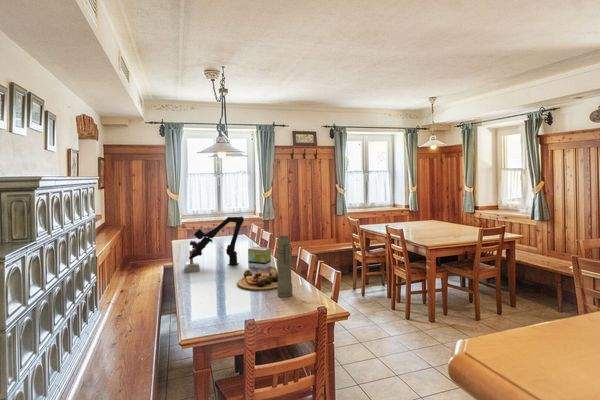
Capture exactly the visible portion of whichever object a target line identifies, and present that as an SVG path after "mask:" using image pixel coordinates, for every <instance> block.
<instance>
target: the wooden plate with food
mask: <svg viewBox="0 0 600 400" xmlns="http://www.w3.org/2000/svg"><path fill="white" fill-rule="evenodd" d="M277 284H278V271H277V270H275V269H274V268H271V269H270V271H269V272H268V273H263V272H262V271H258V272H255V273H254V274H253V272H252V270H250V269H245V270H244V272H243V277H241V278H239V279H238V280H237V281H236V286H237V288H239V289H241V290H244V289H245V291H251V292H264V291H266V290H267V291H272V290H277Z"/></svg>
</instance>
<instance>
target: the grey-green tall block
mask: <svg viewBox="0 0 600 400" xmlns="http://www.w3.org/2000/svg"><path fill="white" fill-rule="evenodd" d="M276 244H277V255H276V267H277V273H278V284H277V289H276V291H277V297H278V298H282V299H285V298H286V299H288V298H291V297H293V289H294V288H293V282H292V267H293V257H292V254H291V249H292V247H291V238H290V236H288V235H279V236H278V238H277V243H276Z"/></svg>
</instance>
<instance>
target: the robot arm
mask: <svg viewBox="0 0 600 400" xmlns="http://www.w3.org/2000/svg"><path fill="white" fill-rule="evenodd" d="M230 222H231V223H235V227H234V231H233V234H232V237H231V241H230V243H229V244H228V245H227V247H226V250H225V251H226V255H227V256H228V258H229V259H228V262H229V263H228V264H227V265H228V266H237V265H239V264H240V263H239V262H238V252H237V251H235V250H236V243H237V239H238V236H239V233H240V230H241V227H242V225H243V223H244V222H245V218H244V216H243V215H239V216H228V217H226V218H225V219H224V220H223V221H222V222H221V223H219V224H218V225H217V226H216V227H214V228H213V229H211V230H209V231H207V232H204V231H203V230H202V229H201V228H199V229H198V230H197V231H195V233H194V234H193V236H194V237H195V238H197V239H198V240H199V241H198V242H197V241H195V240H190V242H189V246H192V247H191V251H193V253H192V255H191V256H190V255H189V257H188V259H189V260H190V259H192V258H193V259H194V258H196V257H199V256H200V257H202V255H203V250H204V249H205V248H206V246H207V245H209V243H213V238H215V237H216V236H217V234H218V233H219V232H220V231H221V230H222V229H223V228H224V227H226V225H228V224H229V223H230Z"/></svg>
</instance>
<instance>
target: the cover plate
mask: <svg viewBox="0 0 600 400" xmlns="http://www.w3.org/2000/svg"><path fill="white" fill-rule="evenodd" d="M192 253H193V251H192V250H189V257H190V256H191V255H192ZM185 262H186V263H185V264H186V266H188V265H198V262H197V260H195V261H194V258H192V259H189V261H185Z"/></svg>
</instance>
